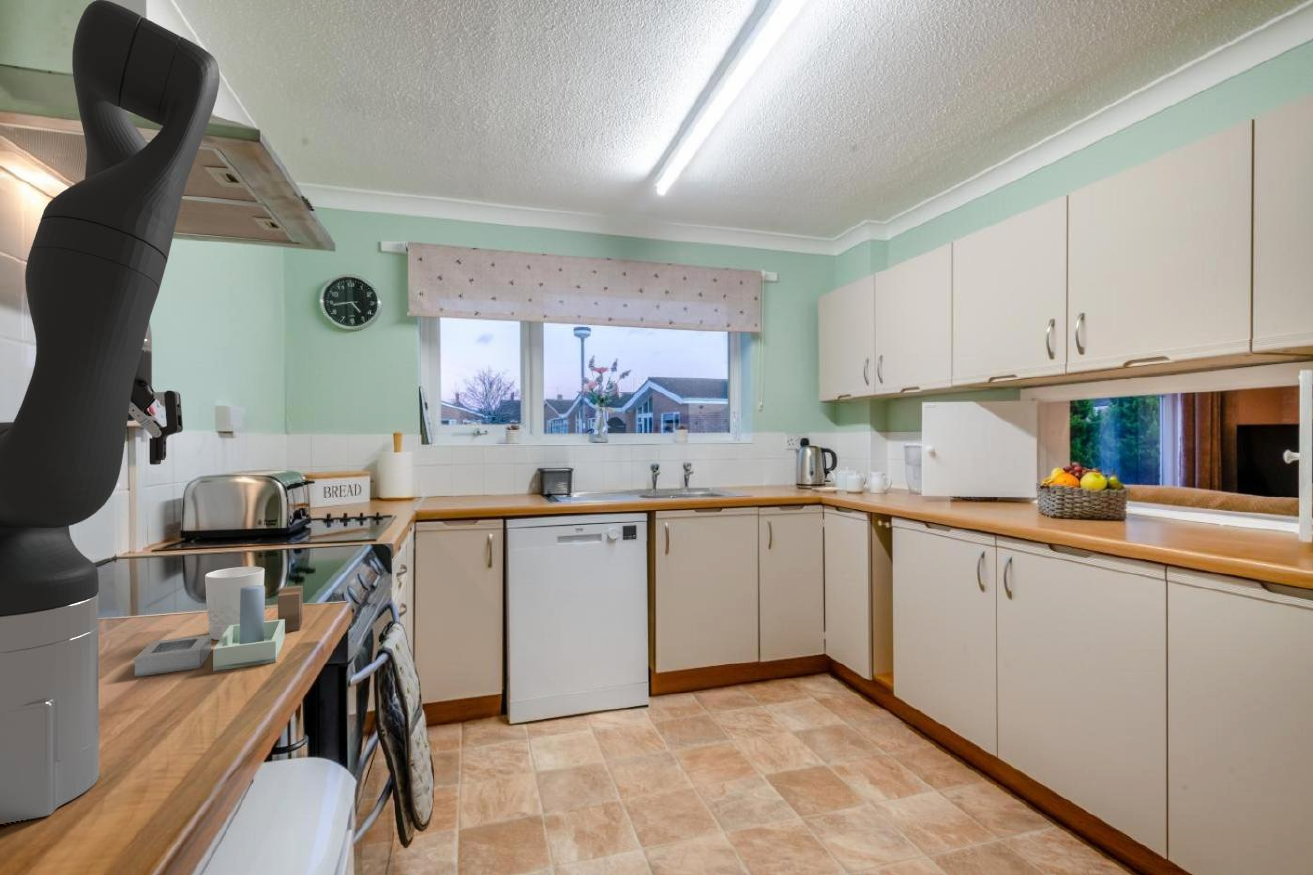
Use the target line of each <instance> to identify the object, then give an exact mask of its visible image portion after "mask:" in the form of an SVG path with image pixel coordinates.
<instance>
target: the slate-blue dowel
mask: <svg viewBox="0 0 1313 875" xmlns="http://www.w3.org/2000/svg"><path fill="white" fill-rule="evenodd" d="M265 600H266V586H265V585H264V586H262V585H254V586H247V587H243V588H241V589H240V639H239V644H247V643H255V642H263V641H264V621H265V617H266V616H265V611H266V610H265V608H266V607H265V606H266V604H265V603H266V601H265Z"/></svg>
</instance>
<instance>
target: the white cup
mask: <svg viewBox="0 0 1313 875" xmlns="http://www.w3.org/2000/svg"><path fill="white" fill-rule="evenodd" d="M204 575H205V576H204V582H205V584H204V585H205V601H206V610H207V611H206V614H207V620H208V622H209V623H208V630H209V634H208V635H211V640H215V641H219V640H220V639H221V637H222V636H223V634H224V633H225V631H226V630H227V629H228V627H229V626H230V625H238V624H240V589H241V588H243V587H247V586H254V585H262V586H265V568H264V567H261V566H238V567H228V568H222V569H217V570H214V571H210V572H207V573H206V574H204Z"/></svg>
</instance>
